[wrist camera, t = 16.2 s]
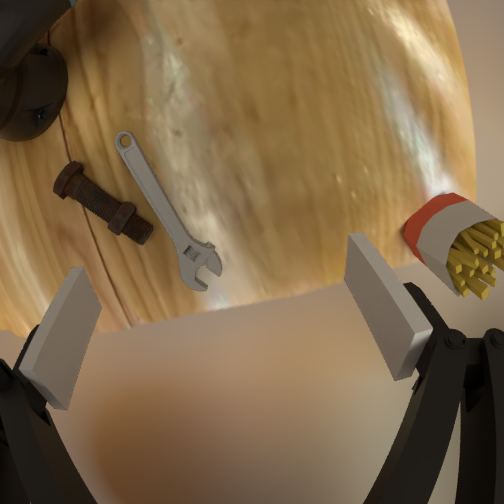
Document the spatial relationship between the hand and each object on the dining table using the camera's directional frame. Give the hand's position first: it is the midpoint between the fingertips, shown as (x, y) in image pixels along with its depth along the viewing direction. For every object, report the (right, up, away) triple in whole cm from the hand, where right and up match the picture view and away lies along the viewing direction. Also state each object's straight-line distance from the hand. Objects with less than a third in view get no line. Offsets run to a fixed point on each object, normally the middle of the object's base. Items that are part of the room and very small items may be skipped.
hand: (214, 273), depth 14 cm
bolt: (-18, +8, +25) cm, 32 cm away
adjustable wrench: (-9, +7, +27) cm, 29 cm away
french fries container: (+29, +7, +28) cm, 41 cm away
